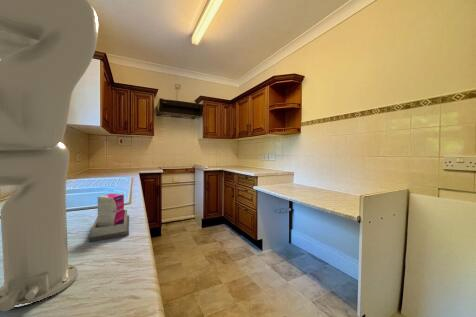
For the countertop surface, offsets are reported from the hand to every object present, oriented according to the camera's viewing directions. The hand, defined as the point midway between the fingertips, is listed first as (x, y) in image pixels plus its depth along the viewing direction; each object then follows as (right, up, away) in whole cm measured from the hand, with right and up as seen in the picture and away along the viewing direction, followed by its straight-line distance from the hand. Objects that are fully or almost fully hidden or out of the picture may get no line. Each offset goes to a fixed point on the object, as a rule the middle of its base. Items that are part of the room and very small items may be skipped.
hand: (28, 152), depth 57 cm
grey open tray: (+13, -28, +16) cm, 35 cm away
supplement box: (+15, -26, +14) cm, 33 cm away
